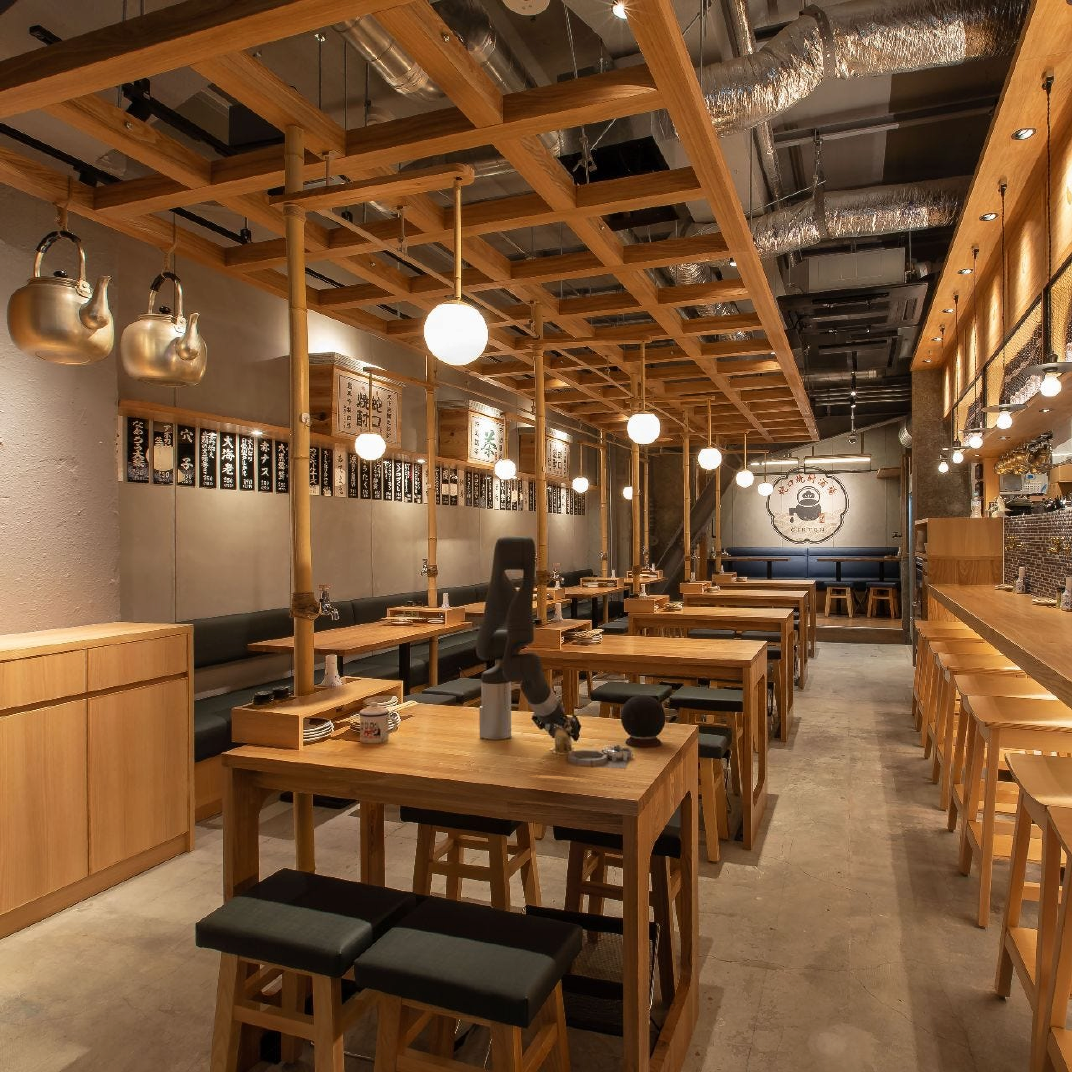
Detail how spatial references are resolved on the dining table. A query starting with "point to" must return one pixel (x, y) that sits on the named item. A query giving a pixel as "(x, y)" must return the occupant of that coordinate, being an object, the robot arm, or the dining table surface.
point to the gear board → (609, 764)
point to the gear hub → (562, 742)
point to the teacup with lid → (375, 724)
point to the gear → (618, 753)
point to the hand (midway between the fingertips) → (565, 737)
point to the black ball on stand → (643, 721)
